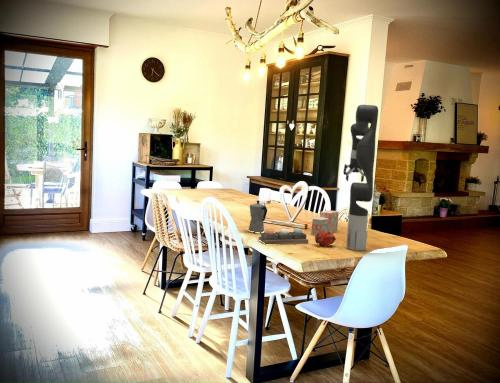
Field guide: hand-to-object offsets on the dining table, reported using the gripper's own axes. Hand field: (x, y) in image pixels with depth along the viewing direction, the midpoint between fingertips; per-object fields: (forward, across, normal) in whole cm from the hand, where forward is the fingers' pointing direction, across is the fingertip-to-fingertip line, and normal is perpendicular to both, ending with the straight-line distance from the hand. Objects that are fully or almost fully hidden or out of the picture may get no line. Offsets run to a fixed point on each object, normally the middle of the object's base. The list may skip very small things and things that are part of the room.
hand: (354, 181), depth 285 cm
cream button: (+7, -39, -60) cm, 72 cm away
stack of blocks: (+22, -17, -28) cm, 40 cm away
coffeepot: (+17, -55, -42) cm, 71 cm away
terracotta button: (+6, -46, -64) cm, 79 cm away
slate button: (+8, -32, -57) cm, 65 cm away
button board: (+10, -39, -61) cm, 73 cm away
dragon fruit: (+11, -17, -62) cm, 65 cm away
